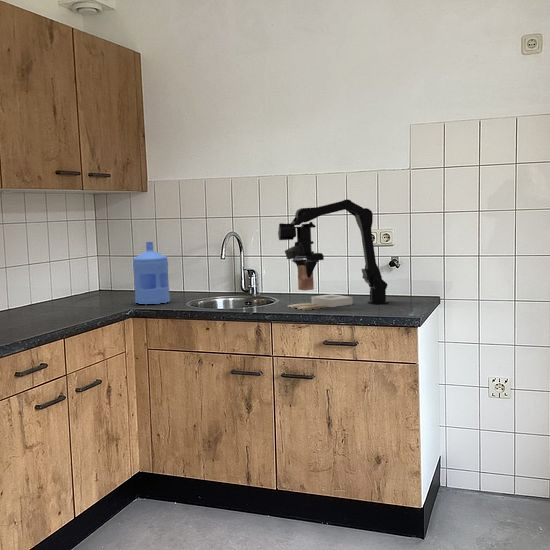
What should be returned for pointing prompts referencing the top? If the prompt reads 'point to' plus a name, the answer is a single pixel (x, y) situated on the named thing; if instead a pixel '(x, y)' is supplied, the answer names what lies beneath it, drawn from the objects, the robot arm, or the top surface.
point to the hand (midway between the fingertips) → (305, 277)
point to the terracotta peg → (304, 279)
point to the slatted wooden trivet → (307, 306)
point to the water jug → (151, 277)
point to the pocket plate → (332, 300)
